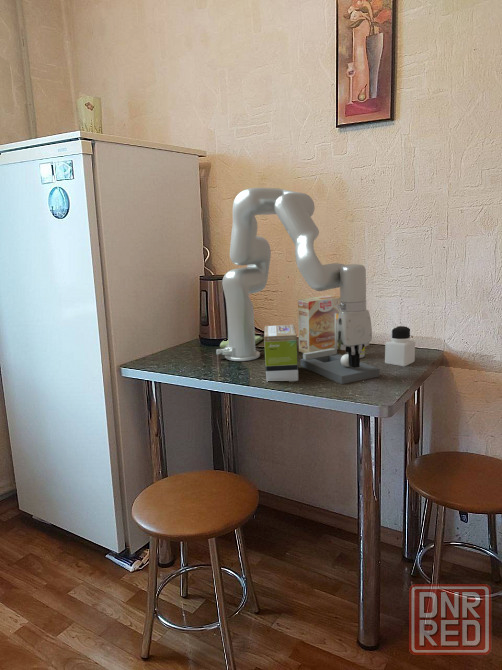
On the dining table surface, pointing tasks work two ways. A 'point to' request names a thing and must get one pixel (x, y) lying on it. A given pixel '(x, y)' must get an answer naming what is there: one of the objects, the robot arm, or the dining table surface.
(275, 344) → the tea box
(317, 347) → the coffeecake box
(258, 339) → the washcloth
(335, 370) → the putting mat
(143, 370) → the dining table surface
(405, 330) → the medicine bottle
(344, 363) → the ball
